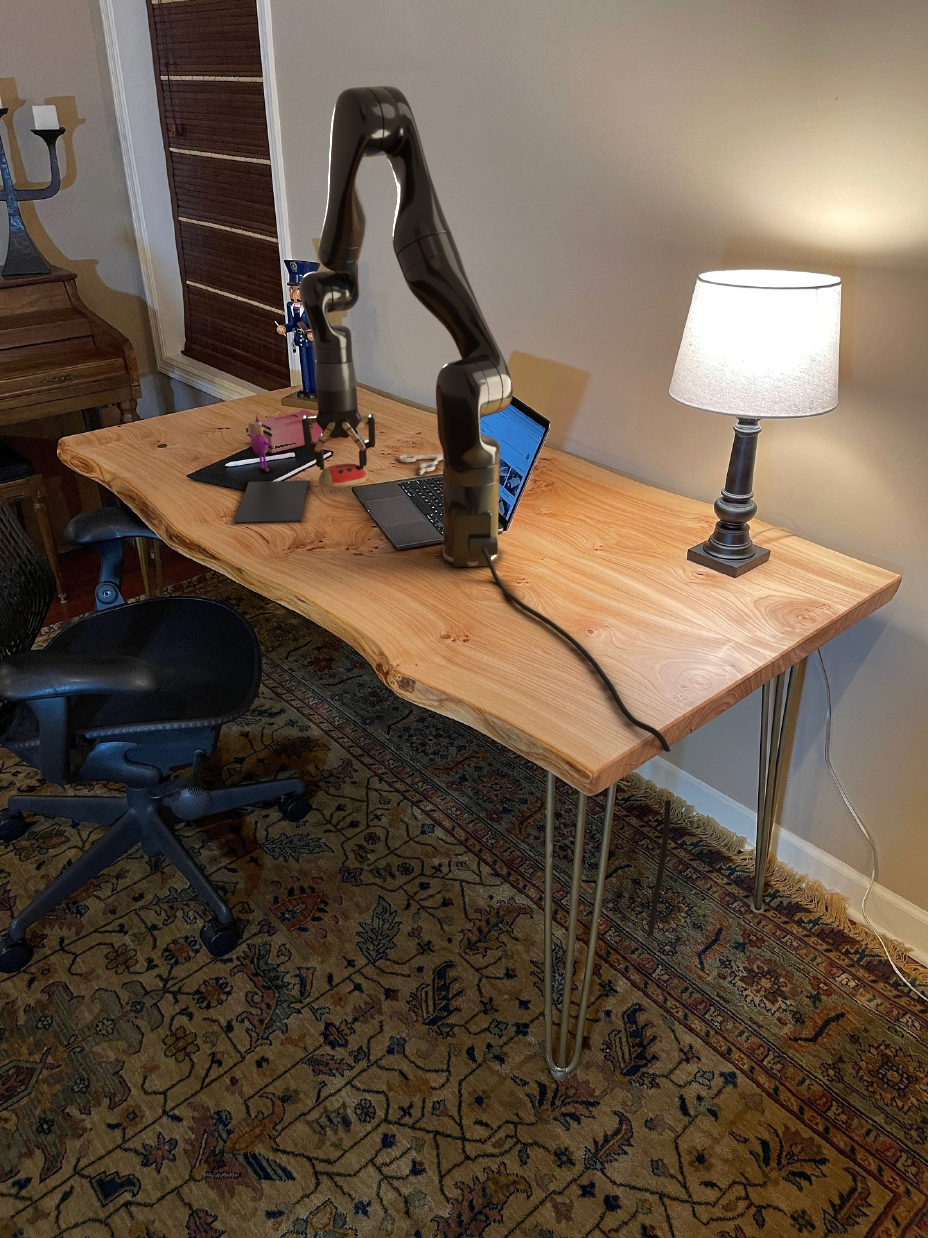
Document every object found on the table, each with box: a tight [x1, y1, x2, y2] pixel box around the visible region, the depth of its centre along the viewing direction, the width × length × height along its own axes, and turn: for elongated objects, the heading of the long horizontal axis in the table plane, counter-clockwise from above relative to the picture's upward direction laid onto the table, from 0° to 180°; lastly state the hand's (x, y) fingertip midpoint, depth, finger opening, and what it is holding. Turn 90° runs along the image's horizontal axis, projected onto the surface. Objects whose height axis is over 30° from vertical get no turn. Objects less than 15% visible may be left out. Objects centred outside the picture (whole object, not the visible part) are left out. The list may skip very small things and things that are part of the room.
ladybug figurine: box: [317, 463, 369, 489], centre depth 177 cm, size 7×10×4 cm
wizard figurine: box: [245, 413, 275, 473], centre depth 185 cm, size 11×3×12 cm, turn 41°
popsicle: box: [248, 409, 323, 454], centre depth 205 cm, size 9×5×20 cm
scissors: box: [398, 452, 443, 476], centre depth 195 cm, size 11×1×20 cm
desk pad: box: [233, 480, 310, 524], centre depth 174 cm, size 20×12×1 cm, turn 4°
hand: (342, 468), depth 176 cm, fingers closed on ladybug figurine, 7 cm apart
